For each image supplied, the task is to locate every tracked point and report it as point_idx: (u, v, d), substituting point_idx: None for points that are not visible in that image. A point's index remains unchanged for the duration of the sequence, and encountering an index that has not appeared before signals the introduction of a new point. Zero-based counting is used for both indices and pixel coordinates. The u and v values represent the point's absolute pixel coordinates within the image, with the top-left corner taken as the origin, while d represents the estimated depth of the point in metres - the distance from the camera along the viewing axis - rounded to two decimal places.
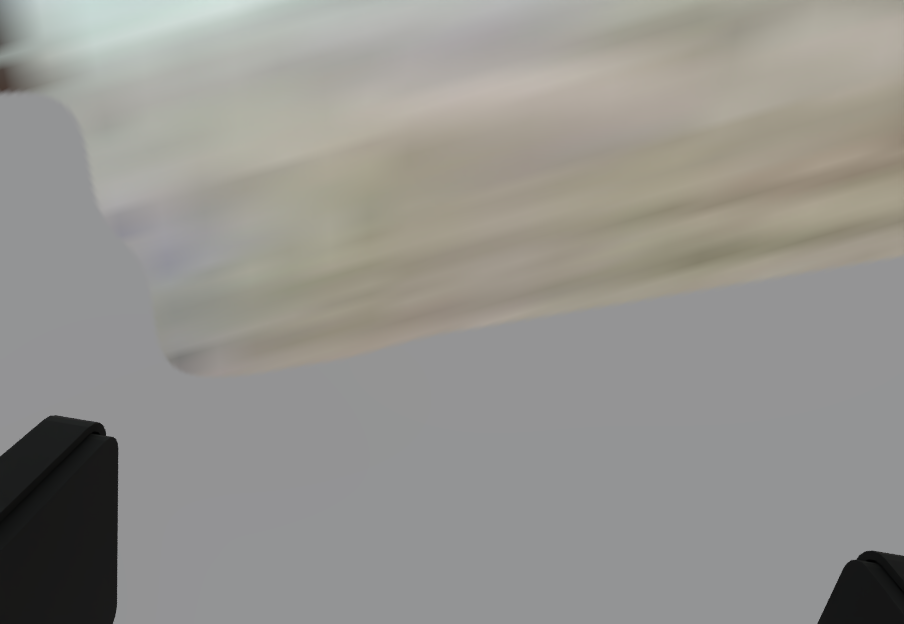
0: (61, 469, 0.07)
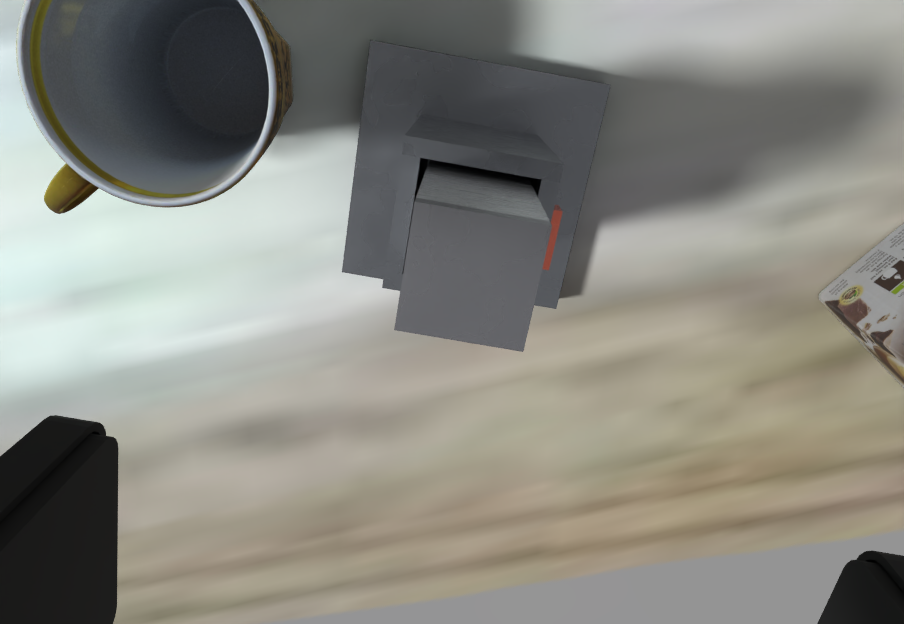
0: (61, 469, 0.07)
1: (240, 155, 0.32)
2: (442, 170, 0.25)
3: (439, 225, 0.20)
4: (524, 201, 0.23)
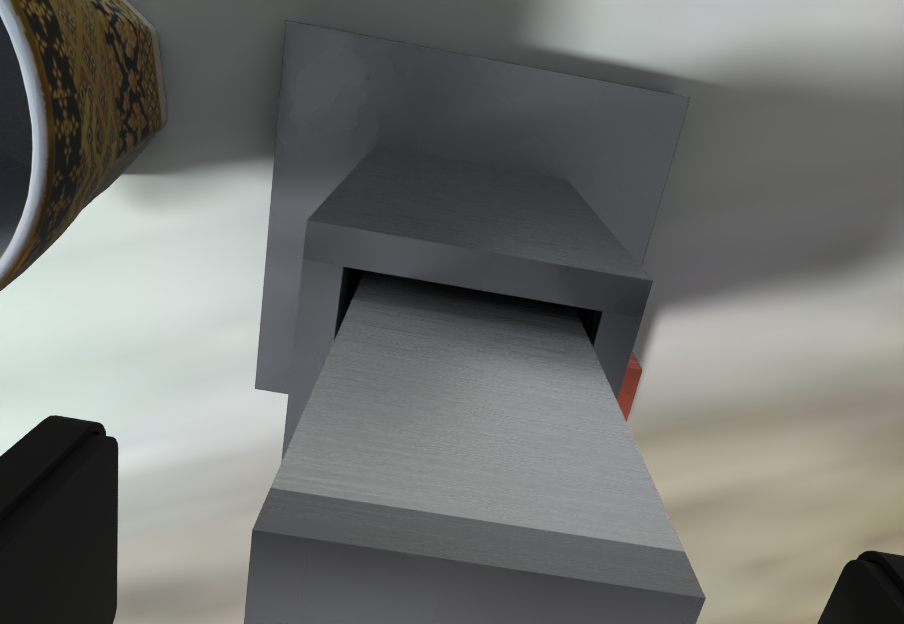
0: (61, 469, 0.07)
1: None
2: (390, 294, 0.12)
3: (339, 594, 0.06)
4: (583, 415, 0.09)
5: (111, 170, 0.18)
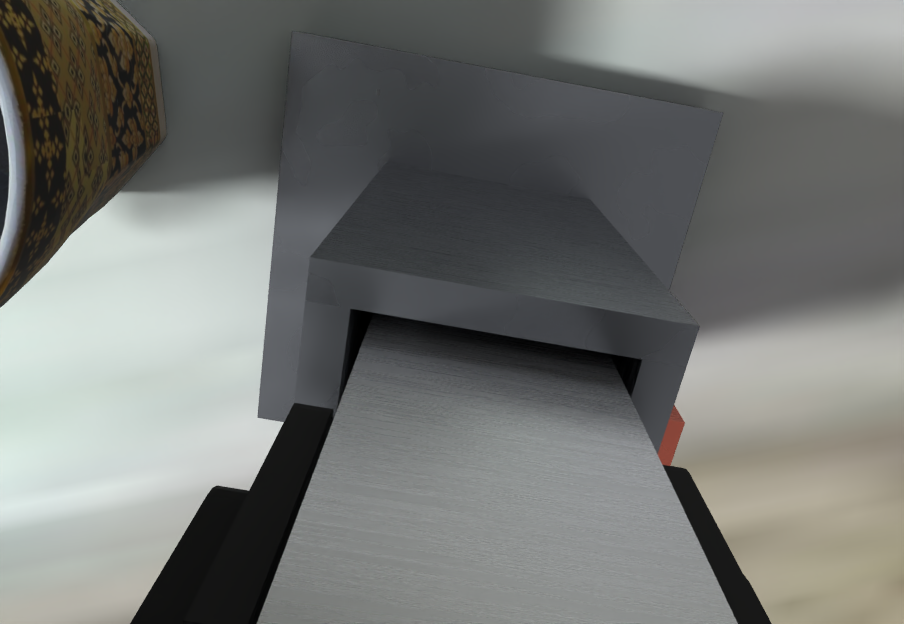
0: None
1: None
2: (403, 339, 0.10)
3: None
4: (632, 497, 0.08)
5: (104, 191, 0.17)
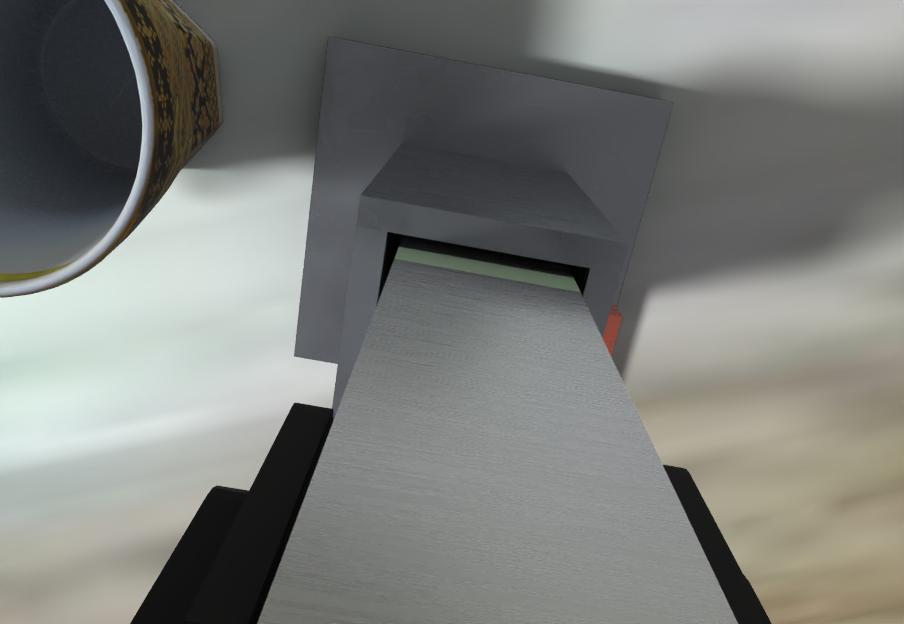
0: None
1: None
2: (404, 340, 0.10)
3: None
4: (632, 498, 0.08)
5: None
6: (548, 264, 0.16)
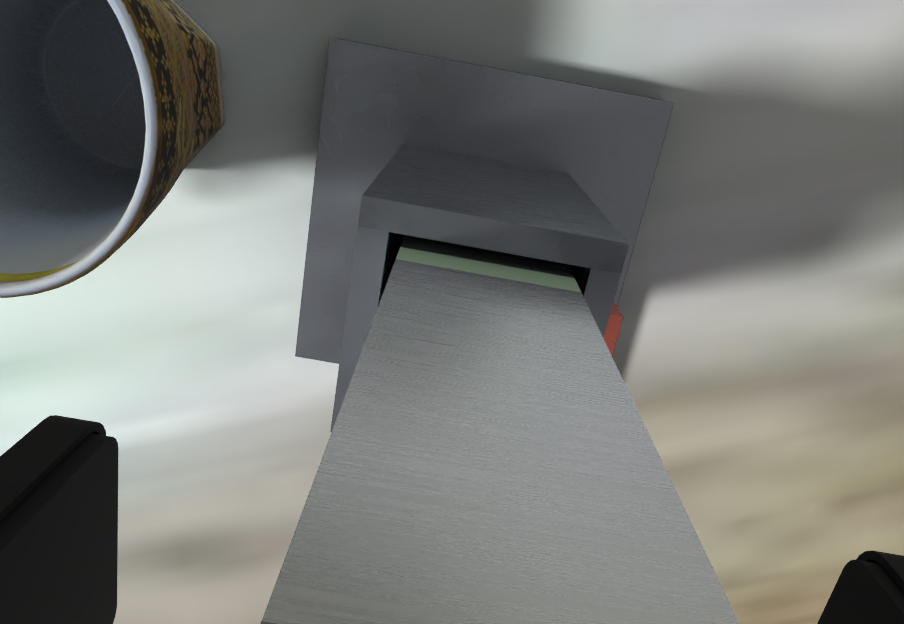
0: (61, 469, 0.07)
1: None
2: (405, 340, 0.11)
3: None
4: (633, 497, 0.08)
5: None
6: (549, 264, 0.16)
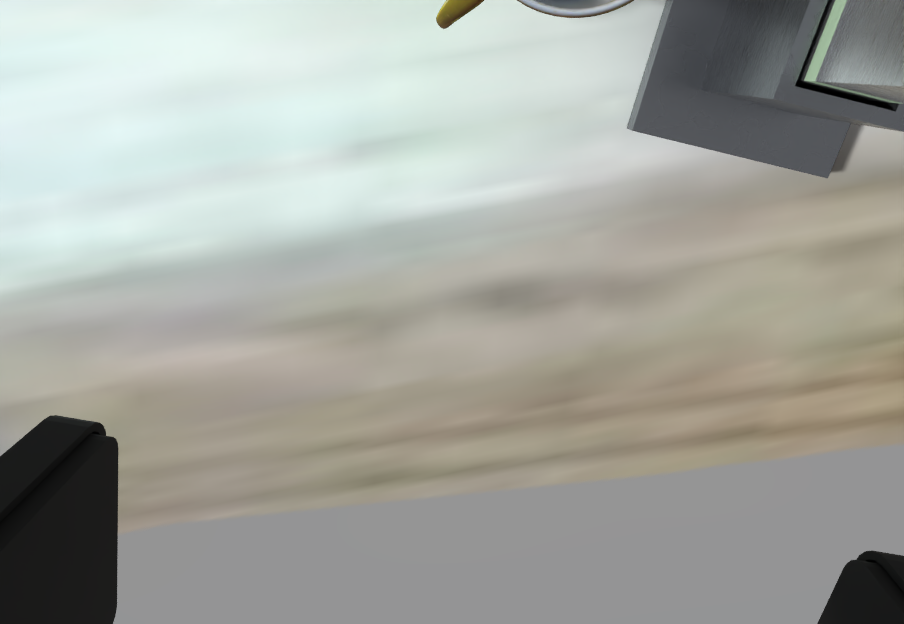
0: (61, 469, 0.07)
1: None
2: None
3: None
4: None
5: None
6: None
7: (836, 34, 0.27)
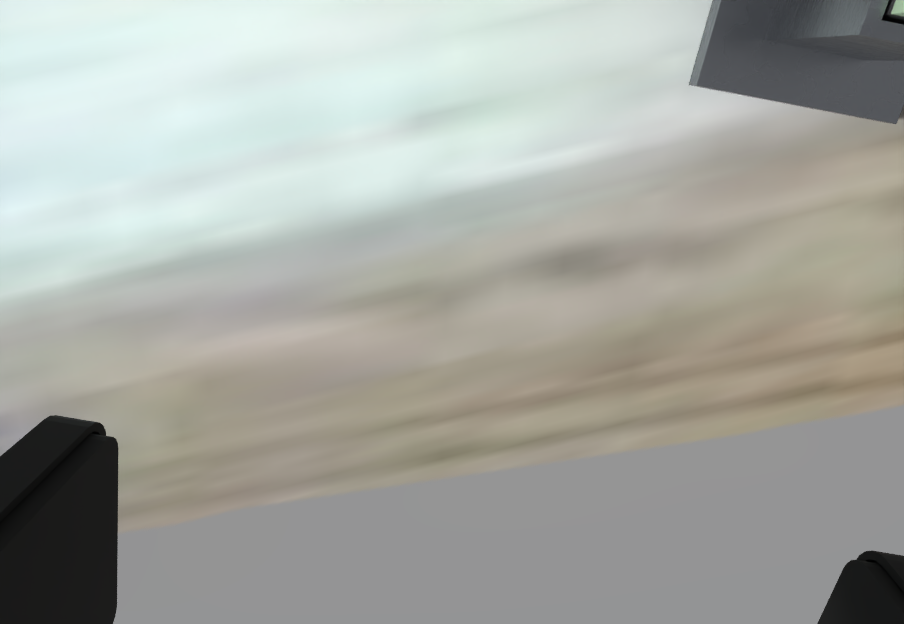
0: (61, 469, 0.07)
1: None
2: None
3: None
4: None
5: None
6: None
7: None
